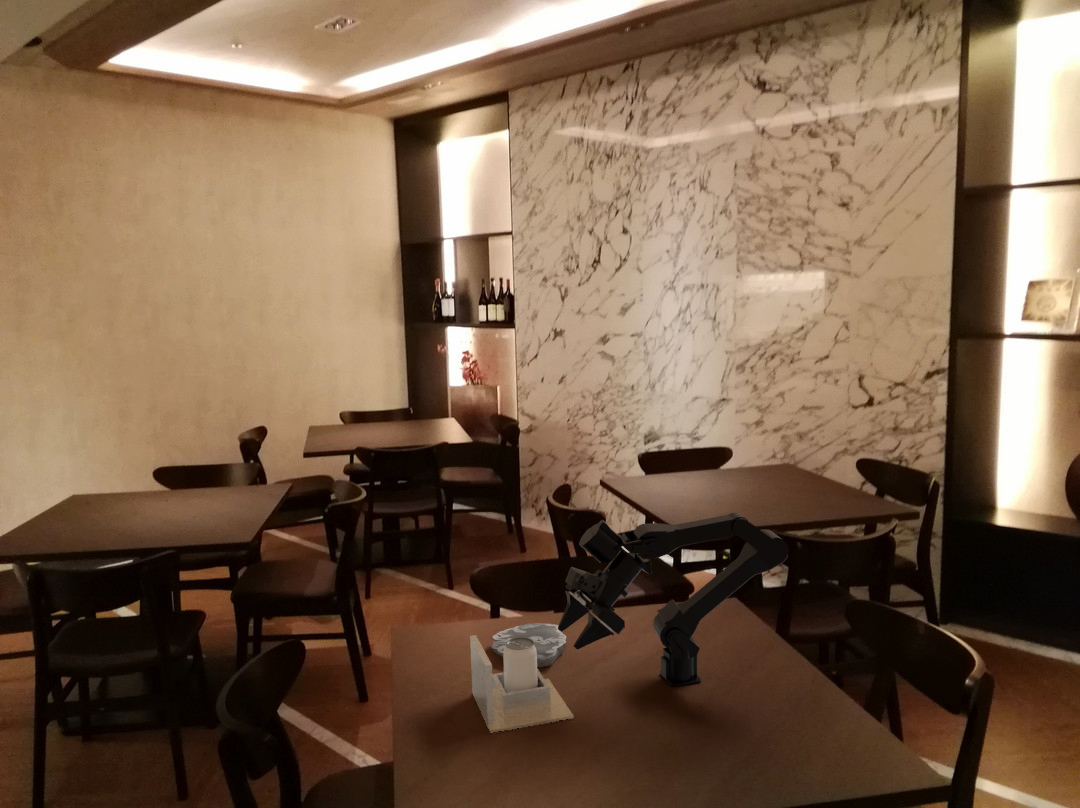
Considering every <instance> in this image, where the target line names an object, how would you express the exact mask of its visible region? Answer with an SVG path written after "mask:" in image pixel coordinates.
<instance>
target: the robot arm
mask: <svg viewBox="0 0 1080 808" xmlns="http://www.w3.org/2000/svg"><path fill="white" fill-rule="evenodd" d="M731 537H739V538H740V539H742V540H743V541H745V543H744V545H743V547H742V549H741V550H740V553H739V555H738V557H737V558H736V559H734V560H733V561H732V562H731V563H730V564H728V565H727V566H726V567H725V568H723V569H722V570H721V571H720V572H719V573H718V574H716V575H715V576H714V577H713V578H712V579H710V580H709V581H708V582H706V583H705V585H703V586H702V587H701V588H699V589H698V590H697V591H696V592H695V593H694V594H693V595H691V596H690V597H689V598H688V599H687V600H685V601H683V602H679V603H676V601H675V600H674V599H670V600H669V601H668V602H667V603H666V605H664V606H663V607H662V608H660V609H657V611H656V612H657V614H656V615H655V617H654V618H653V625H652V626H653V630H654V632H655V634H656V635H657V638H658V640H660V643H661V644H662V646H664V647H663V648H662V656H660V670H659V674H660V676H662V677H663V679H664V680H666V682H668V683H669V684H670V685H671V686H672V687H678V686H685V685H691V684H696V683H701V682H702V678H701V677H700V676H699V675H698V654H699V651H700V646H699V645H698V644H697V642H696V641H695V639H694V637H693V636H694V634H695V632H696V631H697V629H698V626H699V625H700V622H701V621H702V620H703V618H706V616H707V615H709V614H710V613H711V612H712V611H713V610H714V609H717V607H719V605H720V604H721V603H723V602H724V601H726V600H727V599H728V598H729V597H730V596H731V595H733V594H734V593H735V592H736V591H737V590H738V589H740V588H741V587H742V586H744V585H745V584H746V583H747V582H748V581H749V580H751V579H752V578H753V577H755V576H756V575H759V574H763V573H765V572H769V571H772V570H773V569H775V568H776V567H778V566H780V565H781V564H783V563H784V562H786V560H787V559H788V557H789V545H788V544H787V541H785V540H784V539H783V538H781V537H780V536H778V534H776V533H774V532H773V531H771V530H770V529H763V528H762V529H760V528H758V526H756V525H754V524H753V523H752V522H750V521H749V520H748V519H747V518H746V517H744V515H742V514H740V513H738V512H731V513H729V514H725V515H719V516H715V517H710V518H704V519H699V520H693V521H688V522H683V523H678V524H668V523H667V524H666V523H660V522H659V523H657V522H656V523H655V522H654V523H641V524H639V525H638V526H636V527H635V529H632V530H626V531H621V532H618V533H617V532H616V531H615V530H613V528H611V527H610V526H609V525H608V523H607V522H606V521H605V520H603V519H601V520H600V521H599V522H598V523H595V524H594V525H592V526H591V527H590V528H588V529H587V530H586V531H585V532H584V533H583V534H582V536H581V538H580V540H579V543H578V544H579V546H580V547H581V548H582V549H584V550H585V551H586V552H587V553H588V554H589V555H590V556H591V557H593V558H594V559H595V560H596V561H598V562H599V564H603V563H605V564H607V566H606V567H605V568H604V569H603V570H601V569H598V570H596V571H595V572H594V573H591V572H589V571H585V570H582V569H579V568H576V567H573V566H571V567H570V568H569V571H568V573H567V576H566V579H565V583H566V585H565V586H564V587H565V589H567V590H568V591H567V590H565V594H566V598H567V599H566V601H567V602H566V606H565V609H564V612H563V614H562V615H561V619H560V622H559V624H558V630H560V631H561V632H562V633H563V632H564V631H565V630H566V629H568V628H569V627H570V626H572V625H573V624H575V623H577V622H578V621H579V620H580V619H581V618H582V617H584V616H585V615H587V614H588V616H587V624H586V625H585V626H584V628H583V630H582V631H581V633H580V634H579V636H578V637H577V639H576V641H575V643H574V644H573V648H574V649H576V650H581V649H582V648H585V647H586V646H589V645H591V644H592V643H595V642H597V641H600V640H602V639H605V638H607V637H609V636H612V637H613V636H615V633H616V634H617V635H618V636H619V635H621V633H622V632H623V630H624V629H625V628H626V623H625V622H626V621H625V620H624V619H623V618H622V617H621V616H620V615H618V614H617V613H616V612H615V610H616V609H615V608H614V607H613V606H614V605H615V604H616V603H617V601H618V600H619V598H620V597H621V596H622V597H624V598H626V597H627V595H628V594H629V593H628V592H627V591H626V589H627V588H628V587H630V585H631V583H632V582H633V581H634V580H635V578H636V577H638V575H639V574H640V572H641V571H643V572H645V574H646V573H647V574H648V575H649V576H650V575H652V574H653V571H652V561H651V560H655V559H656V560H657V559H659V558H661V557H665V556H666V555H670V554H671V553H672V552H674V551H675V550H677V549H679V548H682V547H685V546H691V545H695V544H701V543H707V542H711V541H716V540H721V539H726V538H731ZM641 556H642V557H643V558H642V557H641ZM586 606H587V607H586ZM589 608H591V612H590V609H589ZM593 614H594V615H593ZM614 632H615V633H614Z"/></svg>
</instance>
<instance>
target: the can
mask: <svg viewBox="0 0 1080 808" xmlns="http://www.w3.org/2000/svg"><path fill="white" fill-rule="evenodd" d="M502 658H503V672H504V686H505V692H506V693H509V692H515V691H521V690H527V689H533V688H538V675H537V669H538V668H537V651H536V648H535V646H534V641H533V640H532V639H530V638H526V637H516V638H512V639H509V640H507V641H506V643H505V648H504V651H503V657H502Z"/></svg>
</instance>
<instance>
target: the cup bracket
mask: <svg viewBox="0 0 1080 808" xmlns="http://www.w3.org/2000/svg"><path fill="white" fill-rule="evenodd" d="M469 640H470V643H469V646H470V664H471V665H470V667H471V670H470V671H471V687H472V688H471V689H472V690H471V691H472V696H473V698H474V700H475V702H477V703H476V704H477V706H478V707H477V708H478V710H479V712H480V711H481V712H480V713H481V716H482V718H483V721H484V720H485V721H484V724H485V725H486V727H487V730H488V729H489V730H488V732H489V731H490V732H489V734H490V733H492V734H494V733H493V732H497V733H499V732H498V731H502V732H505V731H504V730H508V731H513V730H518V729H517V728H519V729H523V727H524V728H529V727H528V726H530V727H534V725H535V726H540V725H539V724H541V725H545V723H546V724H551V723H550V722H552V723H555V722H556V721H557V722H560V721H559V720H563V721H567V720H566V719H568V720H573V718H574V717H575V716H574V714H573V713H572V711H571V710H570V709H569V707H568V706H567V705H568V704H566V702H565V701H564V700H563V697H562V696H561V695H560V693H559V692H558V691H557V689H556V688H555V686H554V684H553V683H552V681H551V680H550V679H549V678H544V676H543V675H542V673H541V672H540V669H538V668H537V675H538V688H533V689H527V690H521V691H515V692H509V693H506V692H505V686H504V671H502V672H498V673H497V672H496V673H493V664H492V662H491V660H490V659H489V657H488V655H487V653H486V651H485V649H484V647H483V645H482V644H481V642H480V640H479V638H478V637H477V635H476V634H475V635H474V634H473V635H470V636H469ZM512 729H513V730H512Z"/></svg>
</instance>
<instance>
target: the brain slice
mask: <svg viewBox="0 0 1080 808" xmlns="http://www.w3.org/2000/svg"><path fill="white" fill-rule="evenodd" d="M558 626H559V624H553V623H540V622H539V623H536V622H535V623H524V624H521V625H515V626H513V627H509V628H506V629H503V630H502V631H501V630H500V631H498V632H496V633H495V634H493V635H492V636H491V639H492V640H493V642H491V644H490V648H491V649H492V651H493V652H494V653H495V654H497V655H498V656H501V657H502V658H503V651H504V648H505V643H506V641H507V640H509V639H512V638H516V637H526V638H530V639H532V640H533V641H534V646H535V648H536V651H537V667H541V668H544V666H546V667H550V666H552V665H553V664H554V663H555V662H556V660H557V659H558V658H559V657H560V655H561V654H562V653H563V652H564V651H565V650H566V646H567V635H566V634H564V632H563V631H562V632H561V631H560V630H558Z"/></svg>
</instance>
